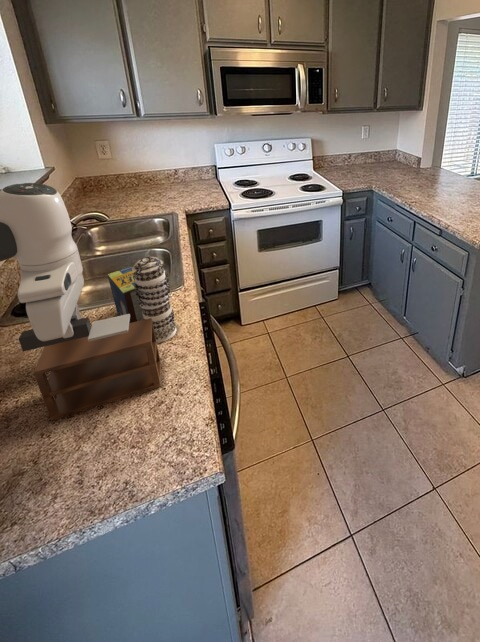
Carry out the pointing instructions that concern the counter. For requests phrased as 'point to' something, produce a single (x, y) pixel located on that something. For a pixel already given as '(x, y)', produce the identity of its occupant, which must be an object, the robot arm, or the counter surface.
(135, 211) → the counter surface
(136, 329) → the box
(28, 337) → the spatula
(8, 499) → the counter surface
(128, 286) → the protein box
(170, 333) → the decorative candle
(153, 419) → the counter surface
